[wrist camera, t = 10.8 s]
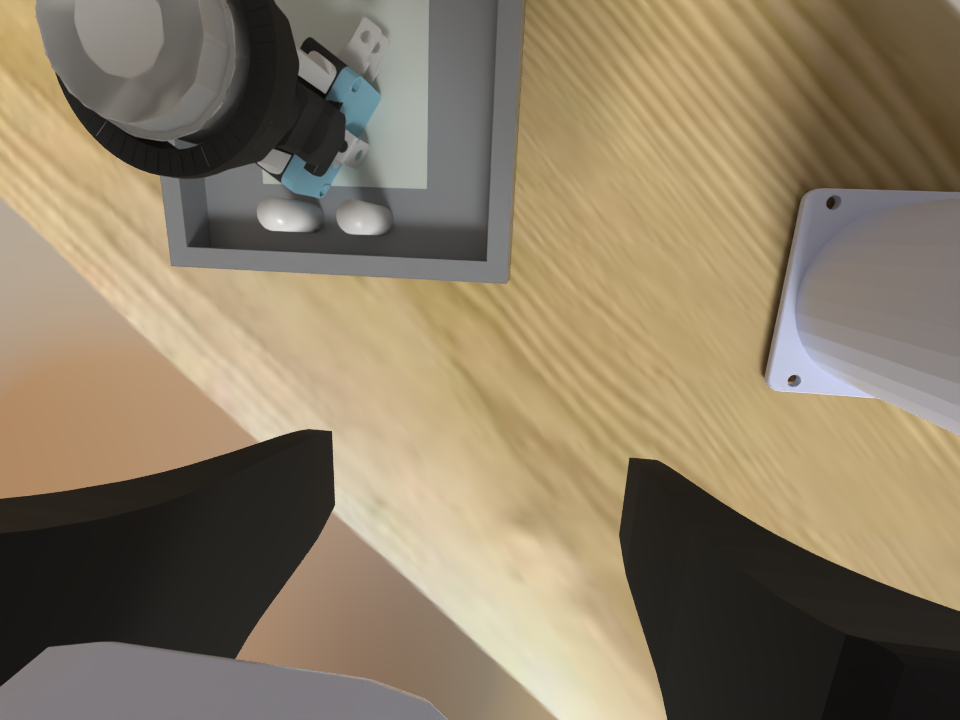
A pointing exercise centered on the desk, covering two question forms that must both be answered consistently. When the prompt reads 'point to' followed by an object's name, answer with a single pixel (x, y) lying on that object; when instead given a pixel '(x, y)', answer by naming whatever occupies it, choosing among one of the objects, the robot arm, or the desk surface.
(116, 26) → the push button
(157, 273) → the desk surface
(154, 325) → the desk surface
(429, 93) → the pin tray
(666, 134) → the desk surface
